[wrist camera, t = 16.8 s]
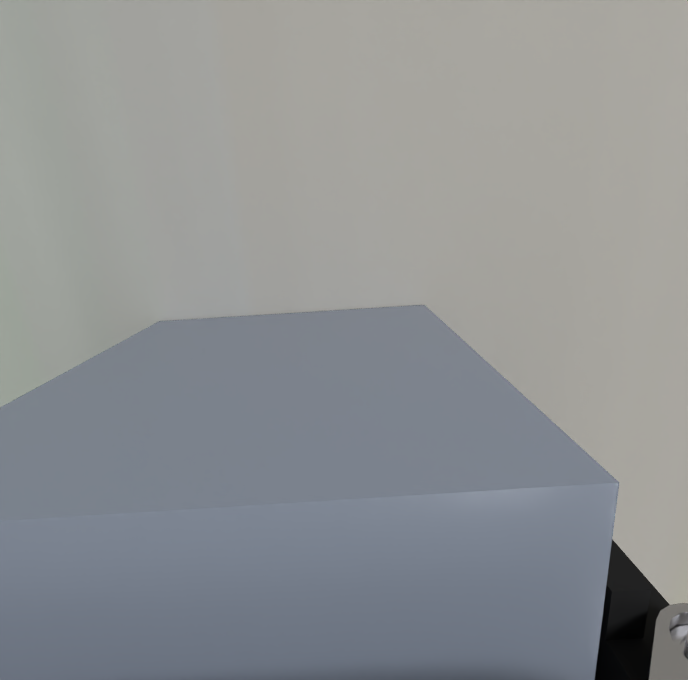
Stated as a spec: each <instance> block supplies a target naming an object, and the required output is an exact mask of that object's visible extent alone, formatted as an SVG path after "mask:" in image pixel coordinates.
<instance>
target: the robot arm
mask: <svg viewBox="0 0 688 680" xmlns="http://www.w3.org/2000/svg"><path fill="white" fill-rule="evenodd" d="M595 680H688V604H687V603H680V604H673V605H669V604H668V602H667V601H666V600H665V599H664V598H663V597H662V596H661V594H660V593H659V592H658V591H657V590H656V589H655V588H654V586H653V585H652V584H651V583H650V582H649V581H648V580H647V578H646V577H645V576H644V575H643V574H642V573H641V572H640V570H639V569H638V568H637V567H636V566H635V565H634V564H633V563H632V561H631V560H630V559H629V558H628V557H627V556H626V555H625V553H624V552H623V551H622V550H621V549H620V548H619V547H618V545H617V544H616V543H615V542H614V541H613V540H612V544H611V552H610V560H609V568H608V576H607V584H606V592H605V600H604V608H603V616H602V624H601V632H600V640H599V648H598V656H597V664H596V672H595Z"/></svg>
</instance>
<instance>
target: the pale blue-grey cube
mask: <svg viewBox="0 0 688 680" xmlns="http://www.w3.org/2000/svg"><path fill="white" fill-rule="evenodd" d="M618 488H619V482H618V481H617V480H616V479H615V478H614V477H613V476H612V475H610V474H609V473H608V472H607V471H606V470H605V469H604V468H603V467H602V466H601V465H599V464H598V463H597V462H596V461H595V460H594V459H593V458H592V457H591V456H590V455H589V454H587V453H586V452H585V451H584V450H583V449H582V448H581V447H580V446H579V445H578V444H576V443H575V442H574V441H573V440H572V439H571V438H570V437H569V436H568V435H567V434H565V433H564V432H563V431H562V430H561V429H560V428H559V427H558V426H557V425H556V424H555V423H553V422H552V421H551V420H550V419H549V418H548V417H547V416H546V415H545V414H544V413H542V412H541V411H540V410H539V409H538V408H537V407H536V406H535V405H534V404H533V403H531V402H530V401H529V400H528V399H527V398H526V397H525V396H524V395H523V394H522V393H521V392H519V391H518V390H517V389H516V388H515V387H514V386H513V385H512V384H511V383H510V382H508V381H507V380H506V379H505V378H504V377H503V376H502V375H501V374H500V373H499V372H497V371H496V370H495V369H494V368H493V367H492V366H491V365H490V364H489V363H488V362H487V361H485V360H484V359H483V358H482V357H481V356H480V355H479V354H478V353H477V352H476V351H474V350H473V349H472V348H471V347H470V346H469V345H468V344H467V343H466V342H465V341H463V340H462V339H461V338H460V337H459V336H458V335H457V334H456V333H455V332H454V331H453V330H451V329H450V328H449V327H448V326H447V325H446V324H445V323H444V322H443V321H442V320H440V319H439V318H438V317H437V316H436V315H435V314H434V313H433V312H432V311H431V310H429V309H428V308H427V307H426V306H425V305H415V306H398V307H382V308H366V309H350V310H334V311H318V312H302V313H286V314H270V315H253V316H237V317H221V318H205V319H189V320H173V321H159V322H157V323H155V324H153V325H152V326H150V327H148V328H146V329H144V330H142V331H140V332H139V333H137V334H135V335H133V336H131V337H129V338H128V339H126V340H124V341H122V342H120V343H118V344H116V345H115V346H113V347H111V348H109V349H107V350H105V351H104V352H102V353H100V354H98V355H96V356H94V357H93V358H91V359H89V360H87V361H85V362H83V363H81V364H80V365H78V366H76V367H74V368H72V369H70V370H69V371H67V372H65V373H63V374H61V375H59V376H57V377H56V378H54V379H52V380H50V381H48V382H46V383H45V384H43V385H41V386H39V387H37V388H35V389H34V390H32V391H30V392H28V393H26V394H24V395H22V396H21V397H19V398H17V399H15V400H13V401H11V402H10V403H8V404H6V405H4V406H2V407H0V680H595V672H596V664H597V656H598V648H599V640H600V632H601V624H602V616H603V608H604V600H605V592H606V584H607V576H608V568H609V560H610V552H611V544H612V536H613V528H614V520H615V512H616V504H617V496H618Z"/></svg>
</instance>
